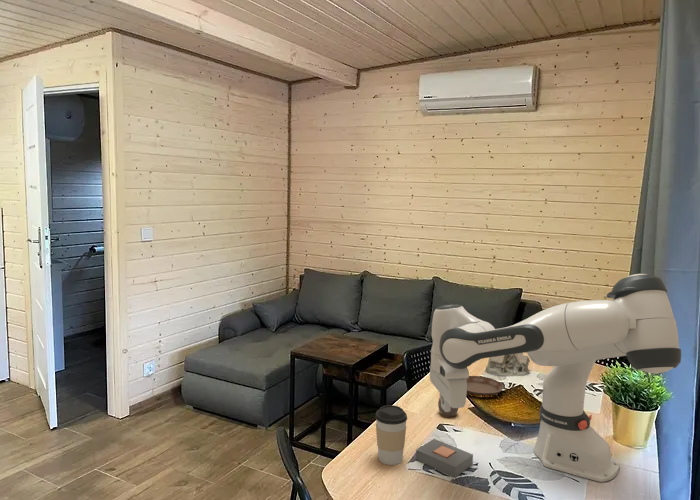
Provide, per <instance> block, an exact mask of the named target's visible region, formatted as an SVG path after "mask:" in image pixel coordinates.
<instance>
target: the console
mask: <svg viewBox="0 0 700 500" xmlns="http://www.w3.org/2000/svg"><path fill="white" fill-rule="evenodd" d="M441 446H444V447H447V448H449V449H452V450H454V451H455V454H453V455H452V456H450V457H449V458H444V457H442V456H440V455H437V454H435V453H433V451H435V450H436V449H438V448H439V447H441ZM415 461H418V462H420V463H422V464H423V465H424V464H425V465H426V466H429V467H431V468H433V469H435V470H438V471H441V472H442V473H444V474H447V475H449V476H451V477H453V478H457V477H458V476H459V475H461V474H462V473H464V472H465V471H466V470H467V469H469V468H471V466H473V465H474V463H473V462H474V454H473V453H470V452H468V451H467V450H462V449H461V448H457V447H456V446H453V445H451V444H449V443H446V442H444V441H441V440H438V439H435V438H433V439H431V440H430V441H428V442H426V443H425V444H422V446H420V447H418V448H416V450H415Z"/></svg>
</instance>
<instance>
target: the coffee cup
mask: <svg viewBox="0 0 700 500" xmlns="http://www.w3.org/2000/svg"><path fill="white" fill-rule="evenodd" d="M375 420H376V423H375V432H376V444H377V445H376V446H377V454H378V455H377V456H378V460H379V462H380V463H382V464H384V465H387V466H388V465H389V466H396V465H399V464H401V463H403V457H404V448H405V443H406V434H407V433H406V432H407V431H406V430H407V420H408V415H407V413H406V411H404V409H403V408H402V407H400V406H398V405H392V404H390V405H389V404H387V405H383V406H380V408H378V409H377V410H376V411H375Z"/></svg>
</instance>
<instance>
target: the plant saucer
mask: <svg viewBox="0 0 700 500" xmlns="http://www.w3.org/2000/svg"><path fill="white" fill-rule="evenodd" d="M466 381H467V393H469V394H476V395H495V394H497V395H499V394H500V393H501V392H502V390H503V389H504V385H503V383H501V382H500V381H498V380H496V379H493V378H491V377H487V376H482V375H481V376H480V375H469V378H466ZM498 393H499V394H498Z"/></svg>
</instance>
